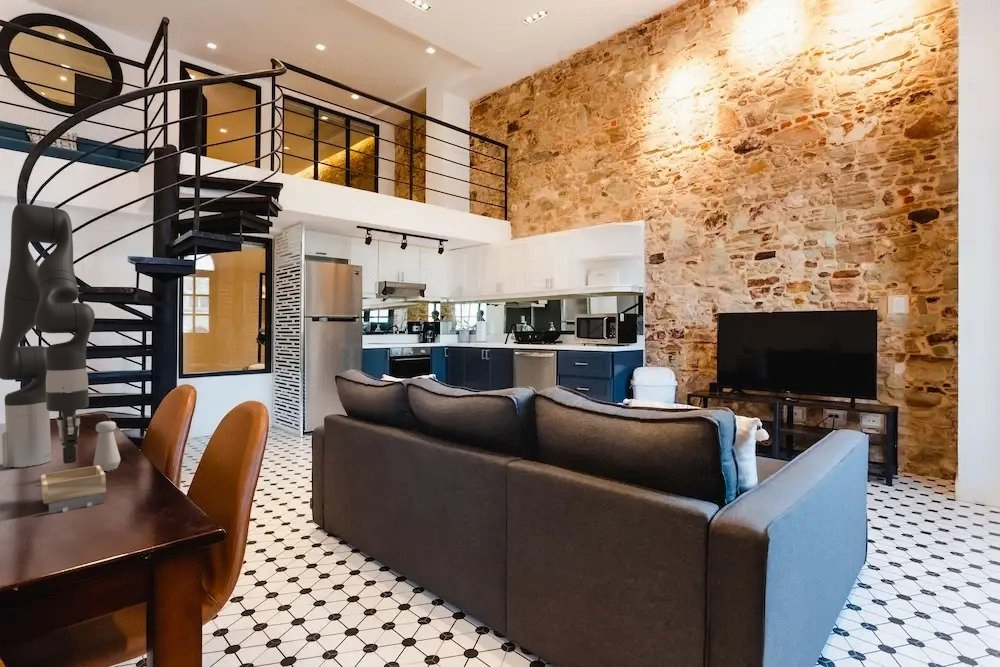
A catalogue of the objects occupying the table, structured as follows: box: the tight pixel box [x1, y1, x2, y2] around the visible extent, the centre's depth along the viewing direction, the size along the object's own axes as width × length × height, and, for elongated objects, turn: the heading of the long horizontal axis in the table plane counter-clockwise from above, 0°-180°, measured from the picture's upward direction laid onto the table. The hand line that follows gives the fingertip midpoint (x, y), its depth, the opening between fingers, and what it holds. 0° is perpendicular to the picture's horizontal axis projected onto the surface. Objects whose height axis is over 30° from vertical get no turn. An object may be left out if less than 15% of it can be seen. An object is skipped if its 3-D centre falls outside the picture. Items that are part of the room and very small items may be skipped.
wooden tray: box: [40, 465, 107, 507], centre depth 115 cm, size 10×10×5 cm
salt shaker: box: [93, 420, 121, 472], centre depth 138 cm, size 6×6×13 cm
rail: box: [48, 492, 104, 515], centre depth 119 cm, size 28×9×2 cm, turn 44°
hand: (69, 462), depth 120 cm, fingers closed
